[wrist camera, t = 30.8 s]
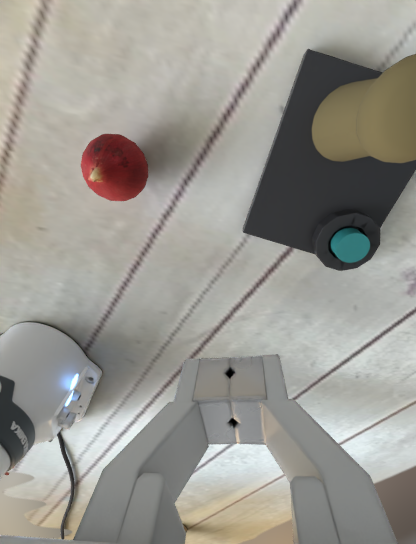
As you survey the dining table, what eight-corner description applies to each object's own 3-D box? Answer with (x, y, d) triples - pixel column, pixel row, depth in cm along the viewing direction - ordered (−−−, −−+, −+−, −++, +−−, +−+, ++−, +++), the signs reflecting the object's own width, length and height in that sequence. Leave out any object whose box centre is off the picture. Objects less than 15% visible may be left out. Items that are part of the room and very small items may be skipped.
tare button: (352, 259, 26) (359, 266, 25) (324, 251, 26) (330, 257, 25) (368, 232, 25) (377, 238, 24) (339, 223, 25) (345, 229, 24)
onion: (101, 134, 26) (49, 130, 19) (155, 136, 26) (123, 132, 19) (109, 192, 29) (66, 208, 22) (159, 195, 28) (131, 212, 21)
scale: (349, 265, 30) (360, 277, 27) (241, 232, 29) (241, 241, 27) (447, 99, 22) (476, 93, 19) (304, 54, 22) (312, 41, 19)
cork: (392, 76, 21) (529, 15, 11) (378, 158, 23) (479, 167, 14) (314, 87, 22) (374, 40, 12) (309, 165, 24) (356, 178, 14)
